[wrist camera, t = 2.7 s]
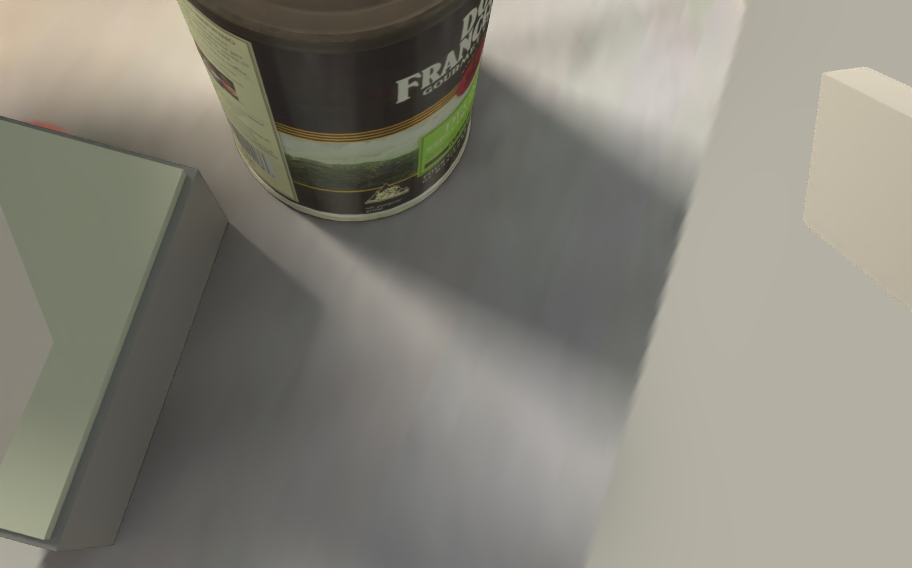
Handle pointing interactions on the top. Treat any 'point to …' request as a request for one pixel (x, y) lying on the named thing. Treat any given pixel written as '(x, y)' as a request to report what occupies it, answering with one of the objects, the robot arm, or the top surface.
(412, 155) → the coffee can
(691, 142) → the top surface
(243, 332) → the top surface
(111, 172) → the base block
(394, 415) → the top surface
